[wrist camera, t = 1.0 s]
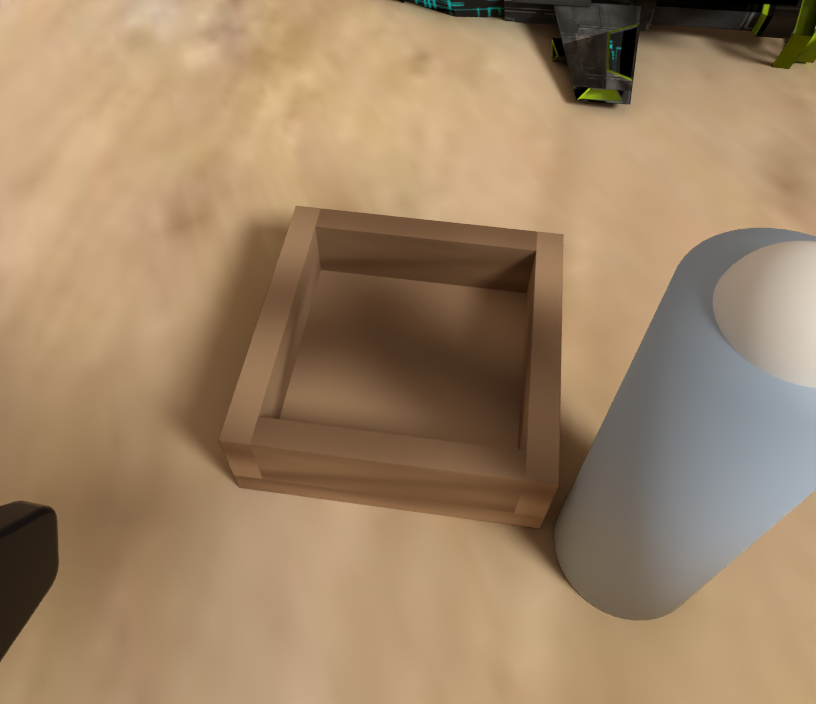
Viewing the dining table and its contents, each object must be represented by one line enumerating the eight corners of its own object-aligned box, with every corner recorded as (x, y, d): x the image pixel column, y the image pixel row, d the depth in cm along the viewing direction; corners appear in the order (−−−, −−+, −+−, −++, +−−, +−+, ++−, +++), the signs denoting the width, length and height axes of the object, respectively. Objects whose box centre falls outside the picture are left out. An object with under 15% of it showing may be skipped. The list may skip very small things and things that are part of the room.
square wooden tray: (539, 528, 24) (558, 485, 21) (239, 487, 25) (218, 440, 22) (547, 293, 30) (563, 234, 27) (305, 265, 31) (295, 205, 28)
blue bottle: (729, 565, 23) (1043, 299, 12) (624, 651, 22) (869, 438, 10) (627, 456, 26) (809, 145, 14) (524, 527, 24) (637, 240, 13)
